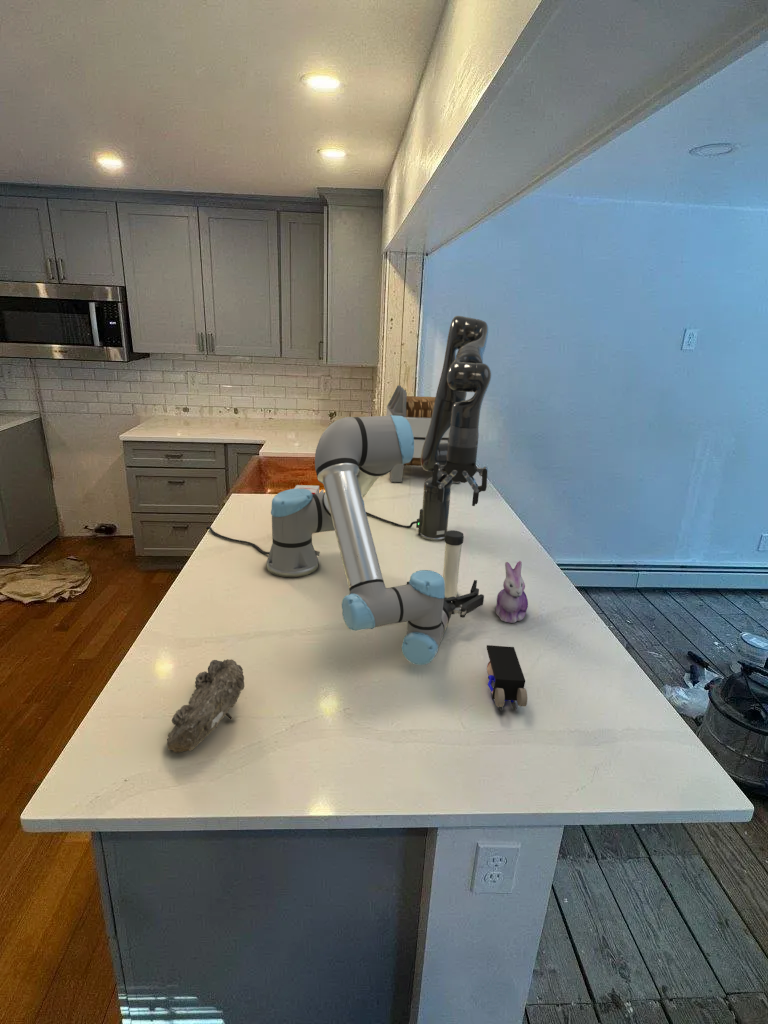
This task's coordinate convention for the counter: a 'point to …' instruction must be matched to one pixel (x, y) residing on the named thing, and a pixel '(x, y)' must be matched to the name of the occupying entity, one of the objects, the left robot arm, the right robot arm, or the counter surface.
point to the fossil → (206, 705)
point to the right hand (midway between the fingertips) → (457, 503)
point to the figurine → (512, 596)
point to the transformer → (412, 424)
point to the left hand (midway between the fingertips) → (450, 580)
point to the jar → (451, 569)
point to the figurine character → (506, 677)
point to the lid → (454, 537)
